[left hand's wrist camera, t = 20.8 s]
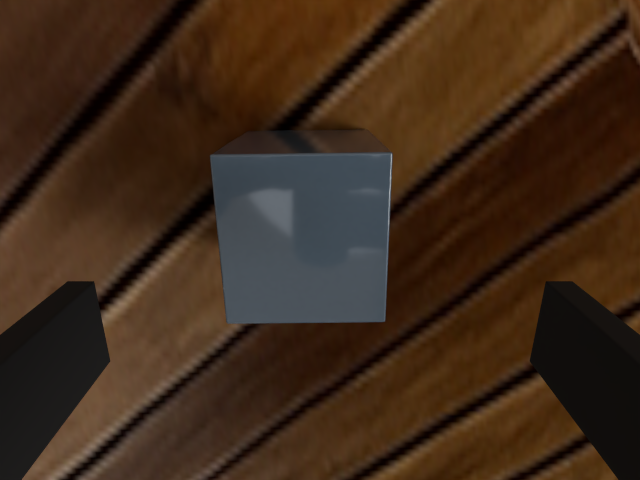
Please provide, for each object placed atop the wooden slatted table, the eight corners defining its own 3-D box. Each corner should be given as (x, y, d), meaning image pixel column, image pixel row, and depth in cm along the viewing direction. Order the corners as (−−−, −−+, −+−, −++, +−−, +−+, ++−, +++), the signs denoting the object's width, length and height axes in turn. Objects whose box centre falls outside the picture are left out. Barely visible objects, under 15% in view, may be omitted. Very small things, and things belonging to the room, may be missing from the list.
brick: (368, 129, 26) (393, 152, 17) (365, 249, 28) (385, 322, 20) (246, 130, 26) (208, 154, 17) (255, 250, 28) (226, 324, 20)
